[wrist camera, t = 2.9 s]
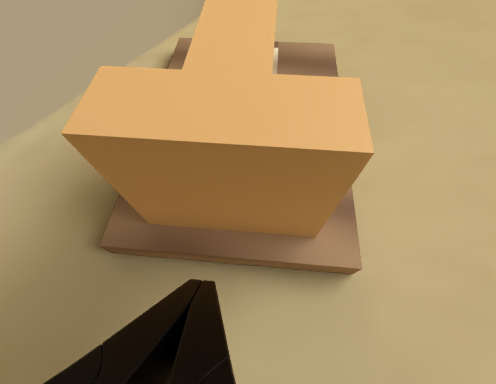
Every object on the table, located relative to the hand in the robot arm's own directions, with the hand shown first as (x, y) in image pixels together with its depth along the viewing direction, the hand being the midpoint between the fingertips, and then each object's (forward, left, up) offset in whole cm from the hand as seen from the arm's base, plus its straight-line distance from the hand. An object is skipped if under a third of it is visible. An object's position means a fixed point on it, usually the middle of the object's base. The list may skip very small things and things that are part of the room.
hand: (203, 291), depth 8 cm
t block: (+9, -2, -5) cm, 10 cm away
